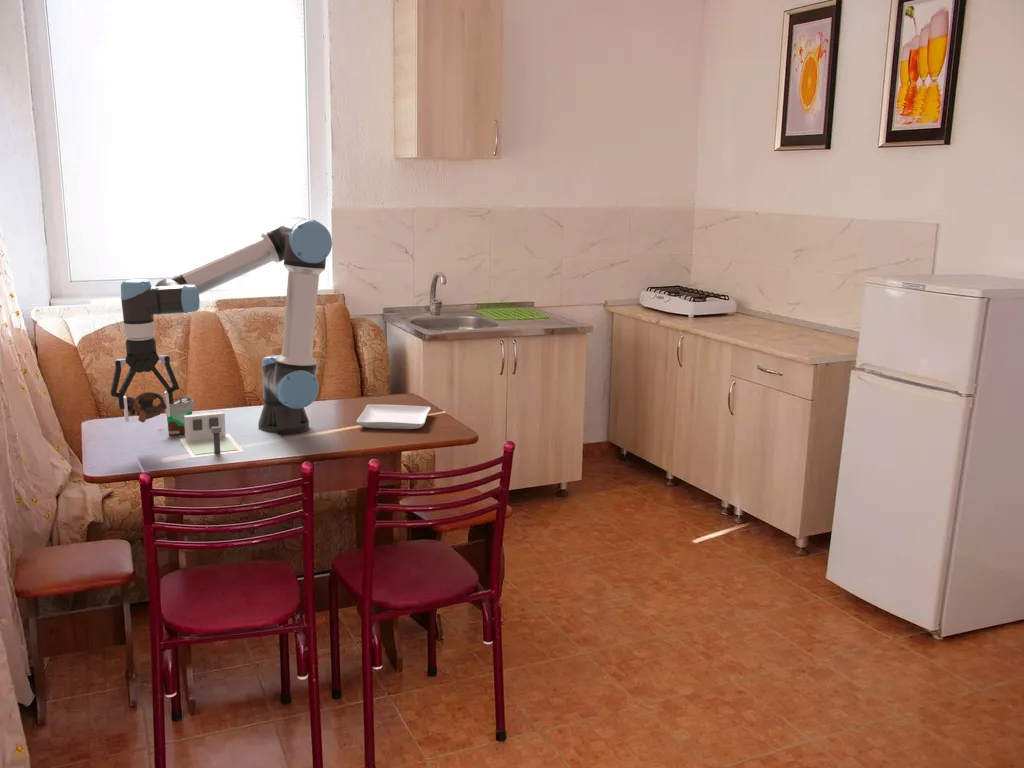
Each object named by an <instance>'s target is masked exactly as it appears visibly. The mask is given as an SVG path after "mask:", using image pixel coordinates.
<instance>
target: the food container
mask: <svg viewBox="0 0 1024 768" xmlns="http://www.w3.org/2000/svg"><path fill="white" fill-rule="evenodd" d="M169 407H170V417H167V416H166V419H167V420H166V421H167V431H168V437H169V436H173V437H180V436H179V435H182V436H185V425H184V415H193V408H194V407H195V402H194V400H193V398H192V397H190V396H186V395H178V399H177V400H173V404H169Z"/></svg>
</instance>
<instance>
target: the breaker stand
mask: <svg viewBox="0 0 1024 768" xmlns="http://www.w3.org/2000/svg"><path fill="white" fill-rule="evenodd" d="M225 415H226V414H225V412H224V411H218V412H207V413H206V412H205V413H204V412H203V413H196V414H192V415H184V425H185V435H184V438H179V441H180V442H181V443H182V445H183V447H184V449H185V450H186V452H188V454H189V456H190V458H201V457H210V456H219V455H227V454H234V453H236V454H237V453H244V452H245V451H244V450H243V449H242V447H241V446H240V445H239V444H238V442H236V441H235V439H234V438H233V437H232V435H231V434H230V433H226V420H225V419H226V417H225ZM209 418H218V423H219V426H220V427H221V432H220V454H214V435H213V433H212V432H211V429H210V424H209ZM198 419H202V430H196V431H194V430H193V420H198Z"/></svg>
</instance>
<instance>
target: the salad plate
mask: <svg viewBox="0 0 1024 768" xmlns="http://www.w3.org/2000/svg"><path fill="white" fill-rule="evenodd" d="M431 409H432V407H430V406H424V405H423V406H421V405H407V404H406V405H404V404H374V403H373V404H366V406H365V407H364V409H363V411H362V413H360V415H359V417H358V418H357V420H356V423H357V424H358V425H359V426H360V427H363V428H368V429H379V430H380V429H383V430H384V429H385V430H386V429H388V430H389V429H390V430H416V429H420V428H422V427H423V426H424V425H425V423H426V420H427V417H428V415H429V413H430V411H431Z"/></svg>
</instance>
